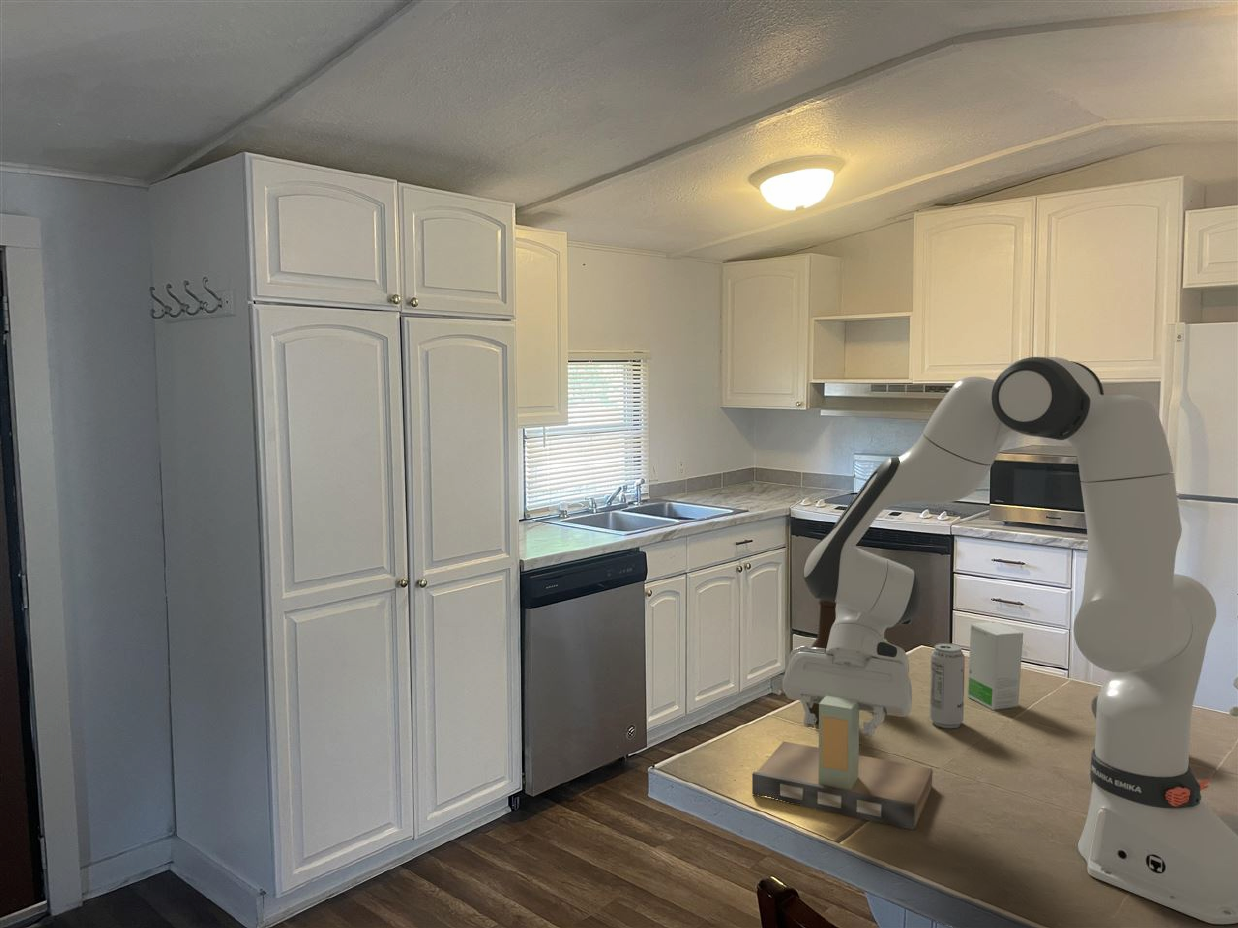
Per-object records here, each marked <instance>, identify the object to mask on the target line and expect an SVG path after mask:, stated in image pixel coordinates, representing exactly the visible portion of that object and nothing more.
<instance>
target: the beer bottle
mask: <svg viewBox="0 0 1238 928" xmlns="http://www.w3.org/2000/svg"><path fill="white" fill-rule="evenodd" d="M818 600H819V601H818V604H819V605H820V607H819V619H818V621H819V622H818V631H817V632H818V633H817V638H816V640H815V641H814V642H813V643H812V645H811V646H810V647H812V648H825V649H826V648H827V644H828V639H829V635H830V630H831V627H832V625H833V623H834V622H835V619H836V612H835V609H836V604H837V603H835V602H834V603H832V602H829V601H825V600H822V599H818ZM809 711H810V713H812V714H815V717H816V718H817V720H816V723H815V725H818V726H819V703H813V707H812V708H809Z"/></svg>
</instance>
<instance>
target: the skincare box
mask: <svg viewBox="0 0 1238 928" xmlns="http://www.w3.org/2000/svg"><path fill="white" fill-rule="evenodd" d="M1023 640H1024V632H1022V631H1020V630H1017V629H1015V628H1013V627H1011V626H1010V625H1005V624H1004V623H1000V622H998V621H995V620H993V621H984V622H975V623H971V624H970V640H969V641H970V642H969V657H968V659H969V660H968V675H967V676H968V677H967V691H966V695H967V697H968V698H969V699H972V700H973V701H974V702H977V703H979V704H981V705H983V706H984V707H987V708H988V709H990V710H991V711H997V710H1003V709H1004V710H1005V709H1009V708H1010V709H1011V708H1019V702H1020V701H1019V700H1020V685H1021V684H1020V683H1021V674H1022V673H1021V672H1022V671H1021V669H1022V658H1023V657H1022V654H1023V643H1024V641H1023Z"/></svg>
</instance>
